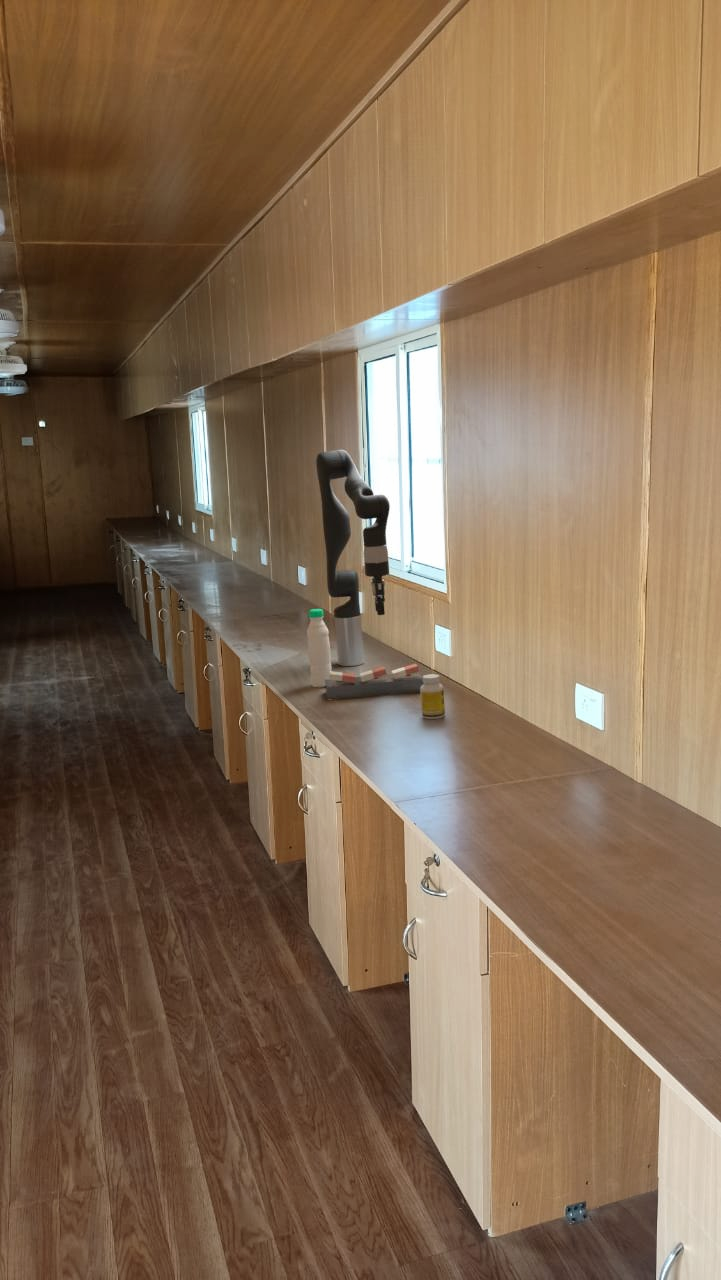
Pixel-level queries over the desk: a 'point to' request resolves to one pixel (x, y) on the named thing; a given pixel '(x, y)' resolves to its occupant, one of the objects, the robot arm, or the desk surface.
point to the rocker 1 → (341, 676)
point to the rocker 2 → (373, 674)
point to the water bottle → (318, 649)
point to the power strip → (374, 686)
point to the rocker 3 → (405, 671)
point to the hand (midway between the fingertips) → (380, 612)
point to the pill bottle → (432, 697)
